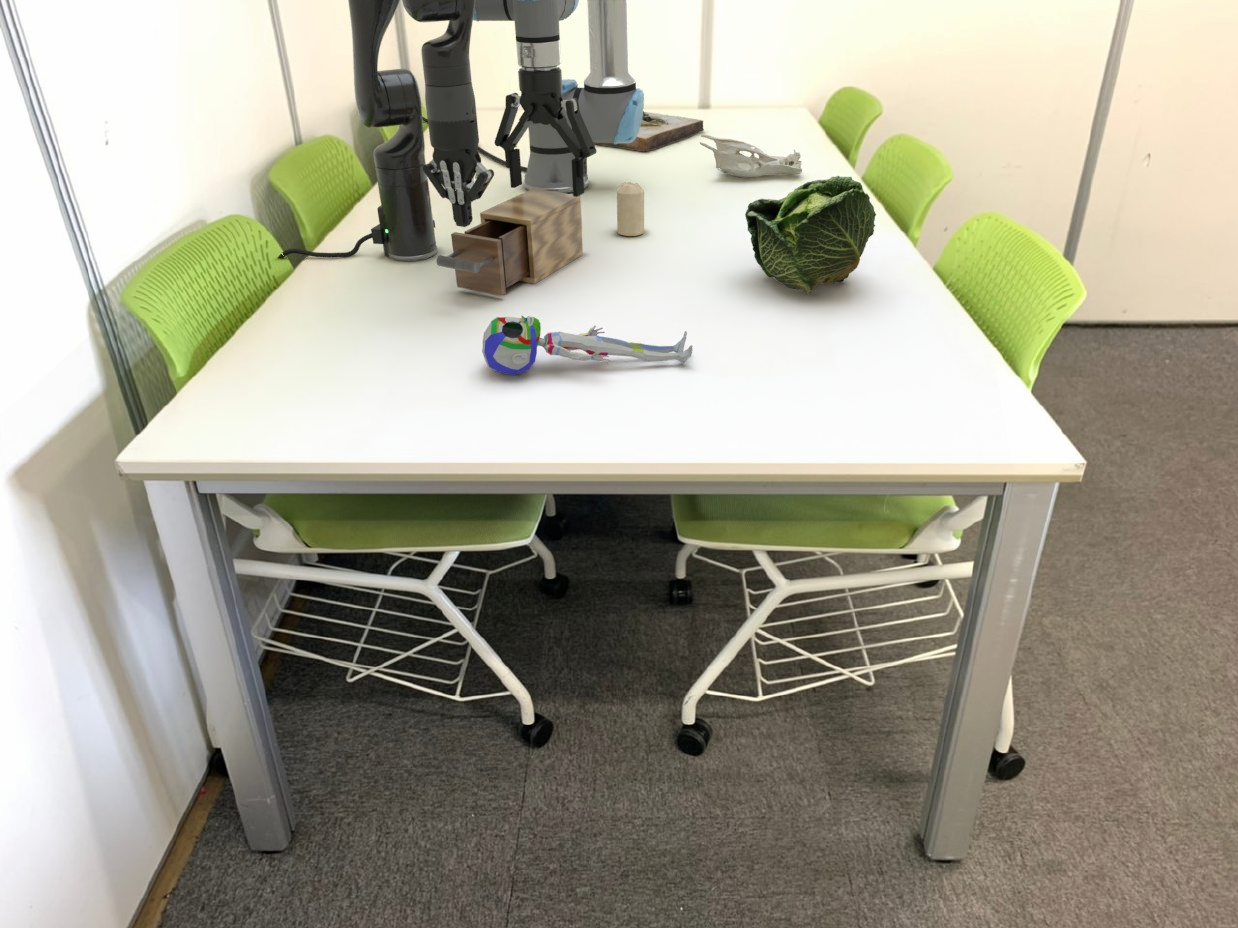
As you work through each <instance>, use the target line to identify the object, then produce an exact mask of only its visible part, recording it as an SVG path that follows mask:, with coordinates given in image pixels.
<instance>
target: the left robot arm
mask: <svg viewBox="0 0 1238 928" xmlns="http://www.w3.org/2000/svg"><path fill="white" fill-rule="evenodd" d="M347 2H348V9H349V18H350V27H351V40H352V65H353V67H352V69H353V88H354V101H355V107H356V110H357V114H358V116H359V119H360V121H361V122H362V124H363V125H364V126H365V127H367V128H368V129H380V128H388V127H395V126H398V127H397V130H396V131H395V133H394V134H393V135H392V136H391V137H390V138H389V139H388V140H386V141H384V142H382V144H379V145H378V146H376V147H375V148H374V150H373V161H374V168H375V175H376V180H377V186H378V187H377V188H378V193H379V199H380V205H379V206H378V207H377V215H378V222H379V223H378V224H377V225H375V226H373V227H372V228H370V232H371V233H368V234H366V235H364V236H362V237H361V238H359V239H358V240H357V241H356V243H355V245H354V247H353V249H352V250H350V251H347V252H316V251H310V250H306V249H302V248H288V249H286V250H284V251H282V252H281V253H283V255H284V256H283V255H282V254H281V253H280V254H279V255H278V257H277V259H278V260H281V259H284V258H285V257H286V256H288V255H291V254H298V255H304V256H308V257H314V258H328V259H329V258H331V259H333V258H349V257H352V256H354V255H356V254H357V253H358V252H359V250H360V247H361V246H362V245H363V243H365V242H366V241H368V240H370V239H372V244H374V245H382V248H383V253H384V258H385V257H386V258H390V259H392V260H395V261H399V262H416V261H421V260H426V259H430V258H432V257H433V256H435V255H437V253H438V246H437V241H436V233H435V229H436V222H435V220H434V217H433V210H432V203H431V194H430V187H429V181H430V183H431V184H432V186H433V187H434V188H435V190H436V192H437V194H438V195H439V196H440V197H441V198H442V199H447V200H448V201H449V202H450V203H451V210H452V217H453V221H454V223H455V225H456V226H457V227H461V228H467V227H469V226H471V224H472V222H473V209H472V203H473V202H474V201H477V200H479V199H481V198H482V196H483V195H484V193H485V191H486V189H488V186H489V185H490V183H491V181H492V179H493V178H494V176H495V171H494V170H493V169H492V168H490V169H487V168H486V166H484V165H483V163H482V157H481V155H480V153H479V151H478V146H479V143H480V137H479V127H478V126H479V125H478V116H477V104H476V96H475V92H474V88H473V82H472V81H473V80H472V71H471V60H470V47H471V37H472V29H473V22H474V20H473V17H474V11H475V4H476V0H347ZM401 2H402V5H403V8H404V10H405V12H406V13H407V14H408V16H409V17H410V18H411V19H413V21H416V22H417V23H418V22H419V23H435V22H447V21H448V24H447V27H446V30H445V31H444V33H443V34H441V35H440V36H437V37H434V38H432V39H430V40H427V41H425V42H424V43H423V44H422V46H421V49H420V51H421V53H420V54H421V62H422V71H423V78H424V93H425V94H424V97H425V98H424V100H425V102H424V103H425V109H426V119H428V122H427V125H428V133H429V141H430V142H429V143H430V146H431V147H432V148H433V151H432V160H430V161H429V163H426V162H427V161H426V155H425V154H426V152H425V149H426V144H425V134H424V123H423V122H424V121H423V120H422V116H423V108H422V107H423V106H422V96H421V91H420V87H419V83H418V80H417V78H416V75H414V73H413V72H412V71H411V70H409V69H407V68H395V69H383V70H379V69H378V67H379V66H378V64H379V55H380V49H381V45H382V42H383V39H384V37H385V34H386V32H387V30H388V28H389V26H390V24H391V22H392V20H393V19H394V16H395V14H396V12H397V9H398V8H399V5H400V3H401Z"/></svg>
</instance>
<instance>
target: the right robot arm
mask: <svg viewBox="0 0 1238 928" xmlns="http://www.w3.org/2000/svg"><path fill="white" fill-rule="evenodd" d="M579 2H580V0H476V4H475V11H474V17H473V22H474V21H475V22H514V31H515V47H516V59H517V65H518V66H519V67H520V68H519V70H518V71H517V75H518V89H519V91H520V93H521V94H520V95H519V93H518V92H513V93H510V94H507V95H506V96H505V107H504V111H503V114H502V117H501V121H500V123H499V126H498V130H497V133H496V136H495V140H494V146H496V147H500V148H502V149H503V150H504V156H505V160H504V159H502V158H499V157H497V156H496V155H494V154H492V153H490V152H488V151H486V150H485V149H483V148H482V147H480V146H479V145H478V152H480V153H481V154H483V155H485V156H486V157H488V158H490V159H492V160H494V161H496V162H497V163H500V164H501V165H504V166H506V169H509V180H510V181H509V182H510V188H513V189H515V188H517V187H520V186H521V185H523V183H524V188H525V189H526V190H527V191H529V190H531V189H537V190H544V191H551V192H558V193H566V194H573V196H574V197H578V196H579V195H580V196H582V195H584V194H585V189H586V188H587V187H589V175H588V162H587V161H588V158H589V157H591V156H594V155H595V154H597V147H596V146H595V144H594V143H593V142H595V143H614V144H617V143H631V142H633V141H634V140H635V139H636V137H637V135H638V133H639V130H640V126H641V122H642V116H643V111H644V109H645V93H644V90H643V89H640V88H639V87H637V80H636V77H635V76H633V74H632V73H631V72H630V63H629V62H630V60H629V59H630V57H629V9H628V7H629V6H628V4H629V3H628V0H586V2H587V3H586V5H587V25H588V26H587V27H588V50H589V52H588V53H589V74H588V75H587V76H586V77H585V79H584V80H583V87H579V86H578V85H579V84H578V82H577V80H576V79H569V78H567V79H563V75H562V74H563V73H562V72H563V71H562V69H561V67H560V65H561V64H562V53H561V37H560V22H561V21H564V20H566V19H567V18H569V17H570V16H571V15H572V14H573V13H574V12H575V11H576V9H577V8H578V5H579ZM519 107H521V108H522V110H523V112H522V114H521V115H520V116H519V118H518V122H517V124H516V125H515V127H514V128H513V125H514V122H515V119H516V117H517V113H518V110H519ZM422 121H423V122H425V123H428V118H427V117H425V116H423V115H422ZM527 131H528V140H529V141H528V142H529V157H528V162H527V166H522V163H521V150H520V148H517V147H518V143H519V142H520V141H521V139H522V138H523V136H524V135H525V133H526V132H527ZM522 171H523V172H525V175H524V180H523V176H522Z"/></svg>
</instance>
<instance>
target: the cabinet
mask: <svg viewBox="0 0 1238 928" xmlns="http://www.w3.org/2000/svg"><path fill="white" fill-rule="evenodd" d="M581 200H582V199H581V195H579V196H578V197H574V196H573V193H558V192H551V191H544V190H537V189H531V190H527V191H524V192H523V193H520V194H518V195H516V196H513V197H511V198H509V199H507V200H505V201H503V202H501V203H499V204H496V205H494V206H492V207H490V208H488V209H485V210H484V211H481V212H480V213H479V218H480V224H481V223H484V222H486V221H488V220H490V219H491V220H497V221H503V222H509V223H516V224H522V225H527V238H528V252H529V266H530V274H529V275H528V276H526V277H524V278H523V279H521V280H519V281H518V282H523V283H527V284H528V283H529V284H533V285H535V284H537V283H538V282H541V281H542V280H544V279H545V278H547V277H549V276H550V275H552V274H553V273H555V272H557V271H559V270H560V269H562V268H563V267H565V266H566V265H568V264H570V263H572V262H573V261H575V260H577V259H578V258H580V257H582V256H583V255H584V251H583V224H582V221H583V220H582V201H581Z"/></svg>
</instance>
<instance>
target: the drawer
mask: <svg viewBox="0 0 1238 928" xmlns="http://www.w3.org/2000/svg"><path fill="white" fill-rule="evenodd" d="M450 237H451V245H452V253H450V254H448V255H442V254H441V255H440V254H439V255H438V256H437V258H436V265H437V266H438V267H442V268H446V269H452V270H454V271H455V279H456V281H455V282H456V287H457V288H461V289H466V290H470V291H471V290H472V291H476V292H479V293H480V292H481V293H487V294H492V295H495V296H500V297H503V296H504V295H506V293H507V292H506V289H507V288H509V287H511V286H513V285H514V284H515V283H517V282H520V281H519V280H521V279H523V278H524V277H526V276H528V275H529V274H530V266H529V252H528V238H527V225H522V224H516V223H509V222H503V221H497V220H491V219H490V220H488V221H486V222H484V223H481V222H480V223H479V224H477V225H476V226H473V227H471V228H469V229H467V230H464V231H463V232H457V231H454V232H452V233H451V234H450Z"/></svg>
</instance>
